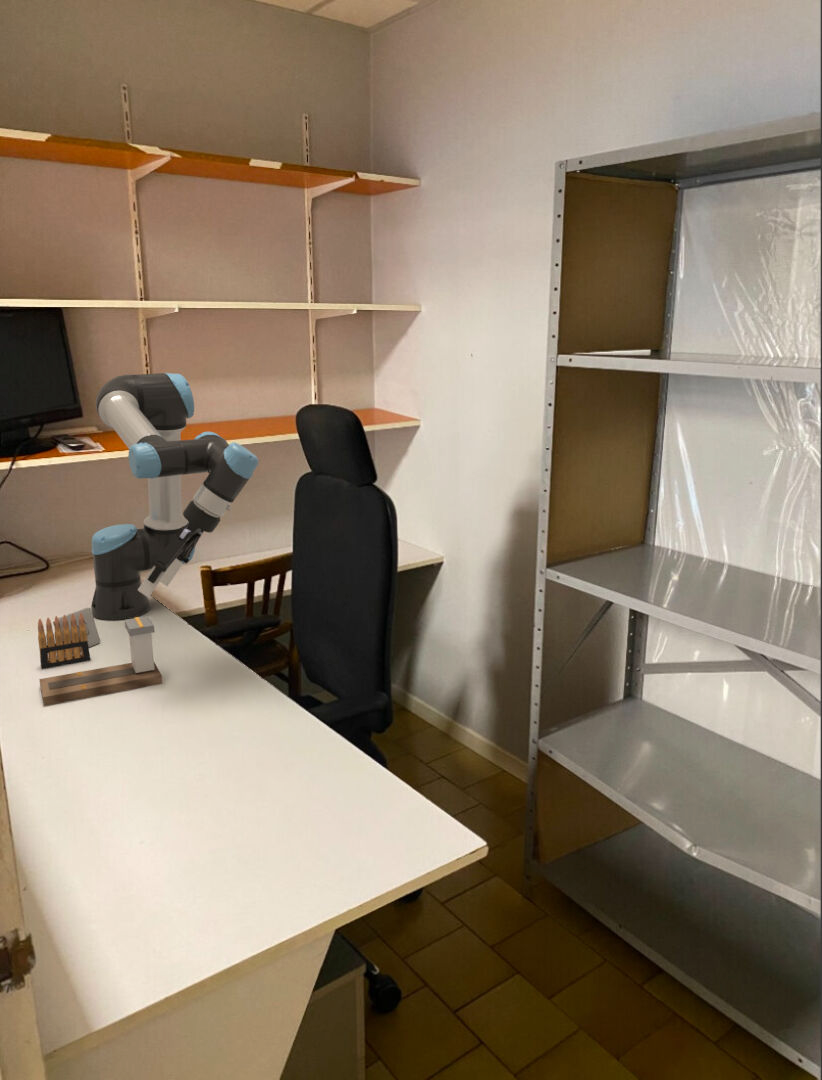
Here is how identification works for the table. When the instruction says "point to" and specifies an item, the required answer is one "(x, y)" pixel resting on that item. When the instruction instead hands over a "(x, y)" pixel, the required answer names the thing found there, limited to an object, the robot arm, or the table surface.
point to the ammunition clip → (63, 643)
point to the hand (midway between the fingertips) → (153, 588)
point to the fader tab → (141, 643)
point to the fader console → (96, 683)
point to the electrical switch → (89, 624)
